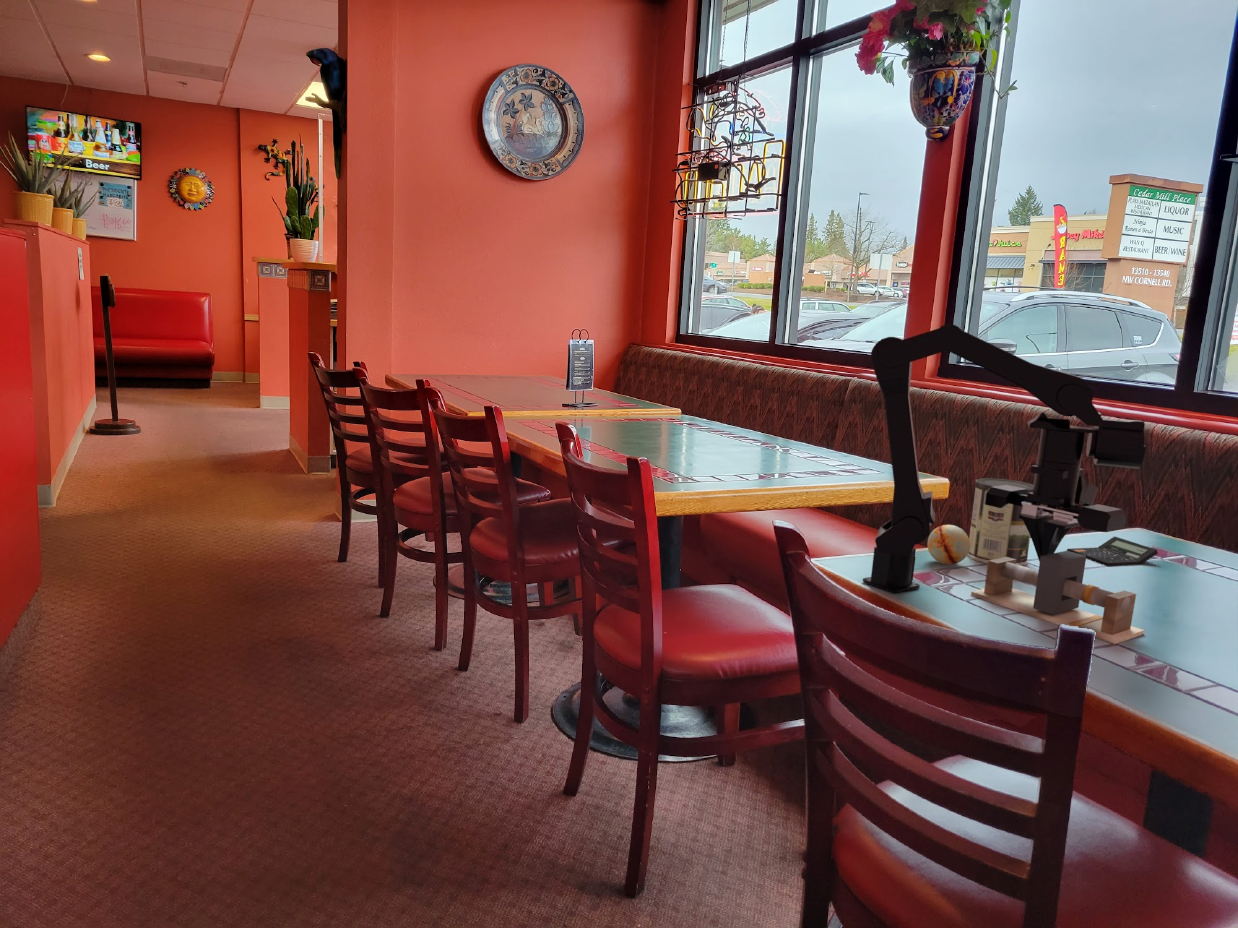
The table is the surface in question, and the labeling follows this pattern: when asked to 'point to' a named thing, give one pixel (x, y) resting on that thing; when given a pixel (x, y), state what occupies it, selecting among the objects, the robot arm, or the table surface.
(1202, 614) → the table surface
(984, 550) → the coffee can
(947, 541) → the ball
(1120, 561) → the calculator
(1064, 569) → the grey sliding block
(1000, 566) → the pipe stand
